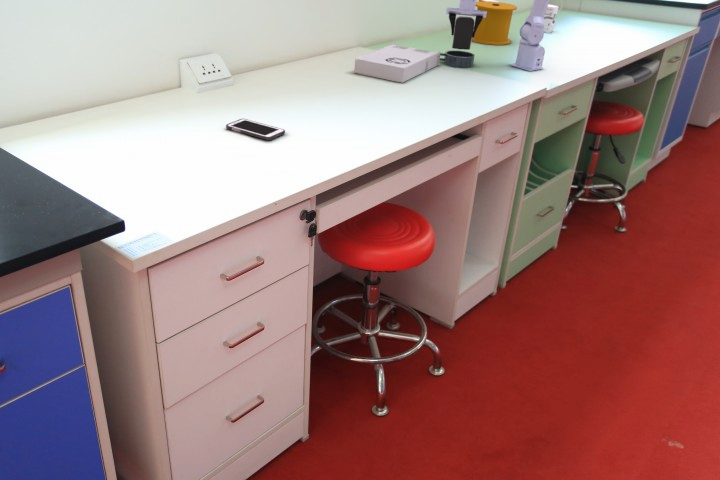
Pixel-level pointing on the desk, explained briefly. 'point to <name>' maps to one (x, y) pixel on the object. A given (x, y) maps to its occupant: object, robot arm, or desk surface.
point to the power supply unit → (396, 63)
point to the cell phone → (255, 129)
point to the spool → (494, 23)
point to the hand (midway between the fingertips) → (462, 35)
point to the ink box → (550, 18)
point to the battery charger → (463, 33)
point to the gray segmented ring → (458, 58)
